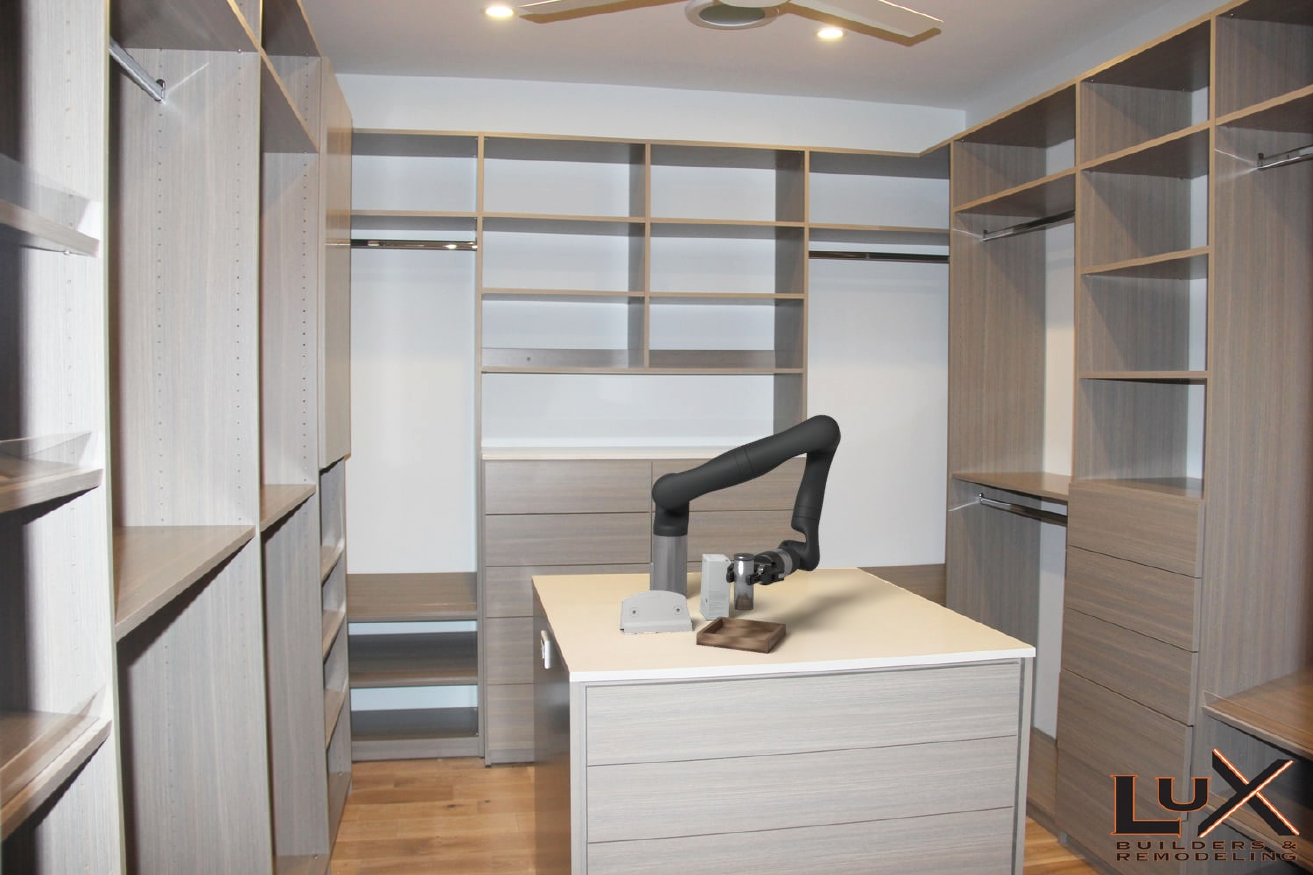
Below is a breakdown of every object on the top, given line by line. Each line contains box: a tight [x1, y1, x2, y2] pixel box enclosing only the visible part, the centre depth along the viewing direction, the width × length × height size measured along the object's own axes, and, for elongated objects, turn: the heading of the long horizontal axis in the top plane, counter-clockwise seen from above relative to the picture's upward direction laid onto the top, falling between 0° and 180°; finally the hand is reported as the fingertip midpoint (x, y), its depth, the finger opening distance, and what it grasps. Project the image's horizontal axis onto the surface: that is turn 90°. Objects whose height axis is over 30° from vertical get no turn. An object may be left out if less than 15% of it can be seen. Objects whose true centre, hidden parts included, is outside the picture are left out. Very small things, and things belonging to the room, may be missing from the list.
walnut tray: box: [695, 616, 787, 654], centre depth 202 cm, size 16×16×2 cm
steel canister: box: [733, 552, 755, 612], centre depth 202 cm, size 5×5×12 cm
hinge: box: [619, 590, 693, 634], centre depth 210 cm, size 17×5×10 cm, turn 103°
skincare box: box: [699, 553, 732, 621], centre depth 222 cm, size 8×6×15 cm
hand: (738, 579), depth 199 cm, fingers closed on steel canister, 4 cm apart
